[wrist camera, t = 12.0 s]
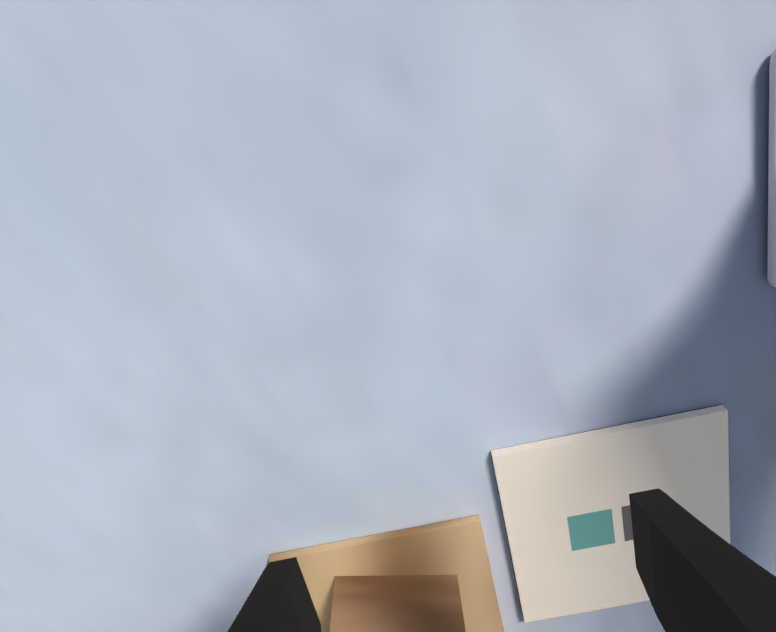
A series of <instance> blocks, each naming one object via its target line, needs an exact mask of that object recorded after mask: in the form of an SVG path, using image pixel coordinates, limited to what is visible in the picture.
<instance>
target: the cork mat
mask: <svg viewBox="0 0 776 632" xmlns="http://www.w3.org/2000/svg"><path fill="white" fill-rule="evenodd" d="M294 557H296V558H297V561H298V564H299V566H300V569H301V572H302V574H303V577H304V580H305V582H306V585H307V588H308V591H309V593H310V596H311V599H312V601H313V604H314V607H315V609H316V612H317V615H318V617H319V620H320V623H321V632H330V621H331V611H332V600H333V589H334V578H335V576H383V575H457V578H458V584H459V591H460V597H461V604H462V610H463V616H464V623H465V629H466V632H504V631H503V626H502V621H501V617H500V612H499V608H498V603H497V598H496V594H495V589H494V584H493V580H492V575H491V570H490V566H489V561H488V557H487V552H486V547H485V543H484V538H483V533H482V529H481V524H480V520H479V515H476V516H470V517H465V518H460V519H455V520H450V521H444V522H439V523H434V524H429V525H423V526H418V527H413V528H408V529H402V530H397V531H392V532H387V533H381V534H376V535H371V536H366V537H360V538H355V539H350V540H345V541H339V542H334V543H329V544H324V545H318V546H313V547H308V548H303V549H297V550H292V551H287V552H282V553H276V554H271V555H270V556H269V561H268V563H269V562H273V561H278V560H283V559H289V558H294Z"/></svg>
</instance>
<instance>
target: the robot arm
mask: <svg viewBox="0 0 776 632" xmlns="http://www.w3.org/2000/svg"><path fill="white" fill-rule="evenodd" d="M767 278H768V282H769V283H770V285H771V286H773V287H775V288H776V49H775V50H774V52H773V54H772V55H771V58H770V65H769V166H768V268H767ZM629 499H630V509H631V520H632V530H633V541H634V551H635V562H636V569H637V571H638V574H639V576H640V578H641V581H642V583H643V585H644V588H645V590H646V592H647V595H648V597H649V599H650V601H651V604H652V606H653V608H654V610H655V613H656V615H657V617H658V619H659V621H660V622H661V624H662V626H663V628H664V630H665V631H666V632H776V577H775V576H774V575H772V574H771V573H769V572H768V571H767V570H765V569H764V568H762V567H761V566H759V565H758V564H757V563H755V562H754V561H752V560H751V559H750V558H748V557H747V556H746V555H744V554H743V553H741V552H740V551H739V550H737V549H736V548H735V547H733V546H732V545H731V544H729V543H728V542H726V541H725V540H724V539H723V538H721V537H720V536H719V535H717V534H716V533H715V532H713V531H712V530H711V529H710V528H708V527H707V526H706V525H704V524H703V523H702V522H701V521H699V520H698V519H697V518H696V517H694V516H693V515H692V514H691V513H689V512H688V511H687V510H686V509H684V508H683V507H682V506H681V505H679V504H678V503H677V502H676V501H675V500H673V499H672V498H671V497H670V496H668V495H667V494H666V493H665V492H663V491H662V490H660V489H659V488H657V489H652V490H647V491H642V492H636V493H631V494H629ZM228 632H321V623H320V620H319V617H318V615H317V612H316V609H315V607H314V604H313V601H312V599H311V596H310V593H309V591H308V588H307V585H306V582H305V580H304V577H303V574H302V572H301V569H300V566H299V564H298V561H297V558H296V557H294V558H289V559H283V560H278V561H273V562H269V563H268V565H267V566H266V568H265V569H264V571H263V573H262V574H261V576H260V578H259V580H258V581H257V583H256V585H255V586H254V588H253V590H252V592H251V593H250V595H249V597H248V598H247V600H246V602H245V604H244V605H243V607H242V609H241V610H240V612H239V614H238V615H237V617H236V619H235V620H234V622H233V624H232V625H231V627H230V628H229V630H228Z"/></svg>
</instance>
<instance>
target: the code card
mask: <svg viewBox="0 0 776 632" xmlns="http://www.w3.org/2000/svg"><path fill="white" fill-rule="evenodd" d="M491 455H492V460H493V465H494V470H495V476H496V481H497V486H498V491H499V496H500V501H501V506H502V511H503V516H504V521H505V527H506V532H507V537H508V542H509V547H510V552H511V557H512V562H513V567H514V572H515V577H516V583H517V588H518V593H519V598H520V603H521V608H522V613H523V617H524V621H525V623H526V622H531V621H537V620H543V619H548V618H554V617H560V616H565V615H571V614H577V613H582V612H588V611H594V610H599V609H605V608H611V607H616V606H622V605H628V604H633V603H639V602H645V601H650V599H649V597H648V595H647V592H646V590H645V588H644V585H643V583H642V581H641V578H640V576H639V574H638V571H637V569H636V562H635V551H634V541H633V530H632V520H631V509H630V499H629V494H631V493H636V492H642V491H647V490H652V489H657V488H659V489H660V490H662V491H663V492H665V493H666V494H667V495H668V496H670V497H671V498H672V499H673V500H675V501H676V502H677V503H678V504H679V505H681V506H682V507H683V508H684V509H686V510H687V511H688V512H689V513H691V514H692V515H693V516H694V517H696V518H697V519H698V520H699V521H701V522H702V523H703V524H704V525H706V526H707V527H708V528H710V529H711V530H712V531H713V532H715V533H716V534H717V535H719V536H720V537H721V538H723V539H724V540H725V541H726V542H728V543H729V544H730V494H729V438H728V410H727V409H726V408H725V407H724V406H723V405H719V406H714V407H709V408H704V409H699V410H694V411H689V412H684V413H678V414H673V415H668V416H663V417H658V418H653V419H648V420H643V421H638V422H633V423H628V424H623V425H618V426H613V427H608V428H603V429H598V430H593V431H588V432H583V433H578V434H573V435H568V436H563V437H558V438H552V439H547V440H542V441H537V442H532V443H527V444H522V445H517V446H512V447H507V448H502V449H497V450H492V451H491Z"/></svg>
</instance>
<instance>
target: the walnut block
mask: <svg viewBox="0 0 776 632" xmlns="http://www.w3.org/2000/svg"><path fill="white" fill-rule="evenodd" d="M330 632H466V629H465V623H464V616H463V610H462V604H461V597H460V591H459V584H458V578H457V575H383V576H335V578H334V589H333V600H332V611H331V621H330Z"/></svg>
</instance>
